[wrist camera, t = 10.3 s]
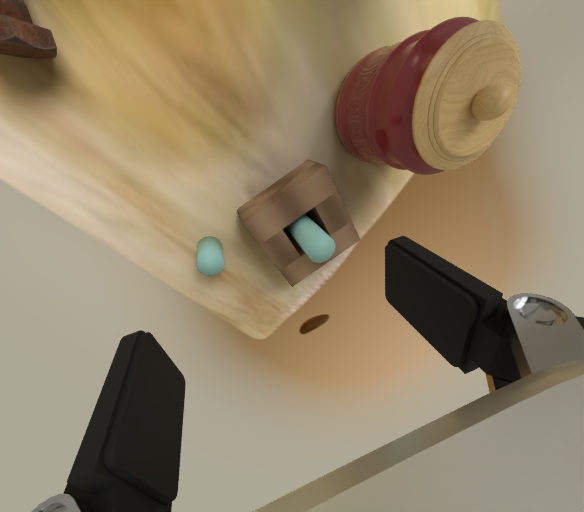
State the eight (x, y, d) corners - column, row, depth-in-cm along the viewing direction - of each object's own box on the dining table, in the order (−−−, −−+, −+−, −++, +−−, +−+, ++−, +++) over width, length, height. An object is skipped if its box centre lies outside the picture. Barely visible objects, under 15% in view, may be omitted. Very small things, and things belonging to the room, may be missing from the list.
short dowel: (217, 233, 35) (219, 248, 31) (225, 254, 37) (227, 271, 33) (193, 240, 35) (192, 256, 30) (202, 260, 36) (201, 278, 32)
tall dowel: (301, 204, 37) (334, 232, 28) (304, 225, 39) (336, 257, 30) (280, 210, 36) (306, 240, 27) (284, 231, 38) (309, 266, 29)
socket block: (308, 159, 34) (326, 166, 29) (340, 225, 41) (360, 239, 36) (237, 209, 34) (243, 224, 29) (281, 266, 41) (292, 286, 36)
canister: (427, 60, 33) (609, 10, 18) (400, 163, 39) (521, 188, 24) (341, 40, 29) (485, -45, 14) (325, 158, 35) (415, 184, 20)
